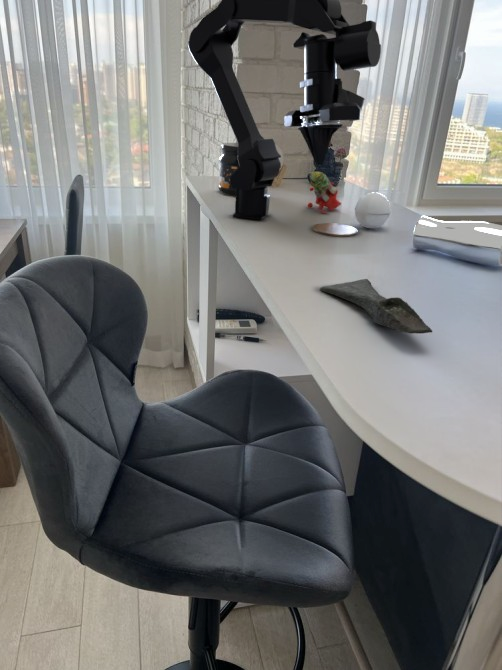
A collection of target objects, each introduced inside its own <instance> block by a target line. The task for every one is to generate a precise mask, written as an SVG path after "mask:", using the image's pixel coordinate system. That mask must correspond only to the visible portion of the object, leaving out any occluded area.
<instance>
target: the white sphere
mask: <svg viewBox="0 0 502 670" xmlns="http://www.w3.org/2000/svg"><path fill="white" fill-rule="evenodd" d="M390 203H391V202H390V201H389V199H388V198H387V196H385V194H382V193H381V192H377V191H375V192H374V191H370V192H367V193H365V194H363V195H362V196H361V197H359V198H358V200H357V202H356V203H355V207H354V216H355V218H356V221H357V222H358V223H359V225H361V226H362V227H364V228H366V229H377V228H381V227H382V226H383V225H384V224H386V222H387V221H388V220H389V219H390V216H391V212H392V206H391V204H390Z"/></svg>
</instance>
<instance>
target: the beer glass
mask: <svg viewBox="0 0 502 670" xmlns="http://www.w3.org/2000/svg"><path fill="white" fill-rule="evenodd" d="M411 242H412V247H413V249H414V250H417V251H426V250H427V251H436V252H439V253H442V254H445V255H448V256H450V257H453V258H456V259H458V260H461V261H465V262H468V263H473V264H478V265H485V266H495V267H500V268H501V267H502V225H501V224H497V223H493V222H487V221H477V220H476V221H473V220H469V221H468V220H460V221H446V220H445V221H444V220H439V219H435V218H432V217H429V216H426V215H422V216H420V217H419V218H418V220H417V222H416V224H415V226H414V229H413V233H412V241H411Z"/></svg>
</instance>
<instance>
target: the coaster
mask: <svg viewBox="0 0 502 670" xmlns="http://www.w3.org/2000/svg"><path fill="white" fill-rule="evenodd" d="M312 230H313V232H315V233H317V234H320V235H325V236H329V237H340V238H341V237H353V236H356V235H357V234H358V229H357V228H355V227H353V226H351V225H347V224H342V223H330V222H324V223H323V222H322V223H317V224H314V225H313V227H312Z"/></svg>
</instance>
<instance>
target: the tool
mask: <svg viewBox="0 0 502 670" xmlns="http://www.w3.org/2000/svg"><path fill="white" fill-rule="evenodd" d="M319 291H322V292H324V293H328V294H330V295H334V296H336V297H339V298H341V299H344V300H346V301H349V302H351V303H353V304H355V305H357V306H359V307H361V308H362V309H364V310H365V311H366V313H367V314H368V315H370V319H371V320H372V321H373V323H374V324H378V325H379V326H384V327H385V328H389V329H391V330H393V331H398V332H400V333H406V334H421V335H422V334H428V333H433V329H432V328H431V327H429V326H428V325H427V324H426V323H425V322H424V320H423V319H422V318H421V317H420V315H419V314H418V312H416V311H415V309H414V308H412V306H411V305H409V304H408V302H407V301H406V300H404V299H403V298H401V297H388V298H386V297H385V296H383V295H381V294H379V292H378V291H377V290H376V289H375V288H374V287H373V285H372V282H371V281H370V279H368V278H362V279H358V280H354V281H348V282H341V283H337V284H331V285H324V286H322V287H320V288H319Z"/></svg>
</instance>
